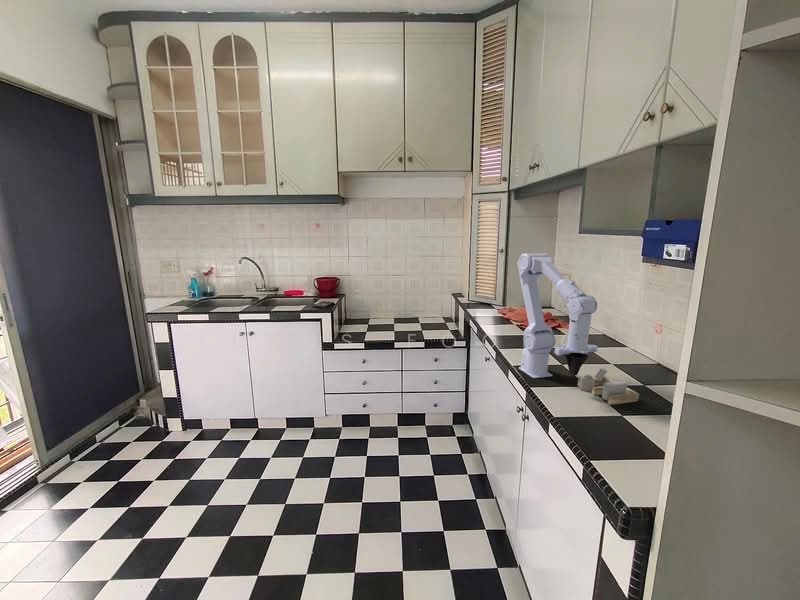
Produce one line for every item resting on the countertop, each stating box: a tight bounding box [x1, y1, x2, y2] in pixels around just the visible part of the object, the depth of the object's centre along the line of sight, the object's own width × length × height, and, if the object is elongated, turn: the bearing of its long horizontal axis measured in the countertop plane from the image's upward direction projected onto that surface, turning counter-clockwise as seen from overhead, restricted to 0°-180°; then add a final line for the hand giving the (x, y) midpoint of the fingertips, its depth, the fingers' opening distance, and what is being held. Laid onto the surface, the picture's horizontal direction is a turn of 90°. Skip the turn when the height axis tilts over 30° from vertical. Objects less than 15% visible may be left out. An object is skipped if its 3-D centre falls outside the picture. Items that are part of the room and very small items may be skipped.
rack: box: [577, 375, 640, 406], centre depth 112 cm, size 13×11×2 cm
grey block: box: [601, 380, 628, 402], centre depth 109 cm, size 2×7×5 cm, turn 105°
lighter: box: [578, 367, 608, 393], centre depth 114 cm, size 7×2×8 cm, turn 79°
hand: (573, 374), depth 111 cm, fingers closed
